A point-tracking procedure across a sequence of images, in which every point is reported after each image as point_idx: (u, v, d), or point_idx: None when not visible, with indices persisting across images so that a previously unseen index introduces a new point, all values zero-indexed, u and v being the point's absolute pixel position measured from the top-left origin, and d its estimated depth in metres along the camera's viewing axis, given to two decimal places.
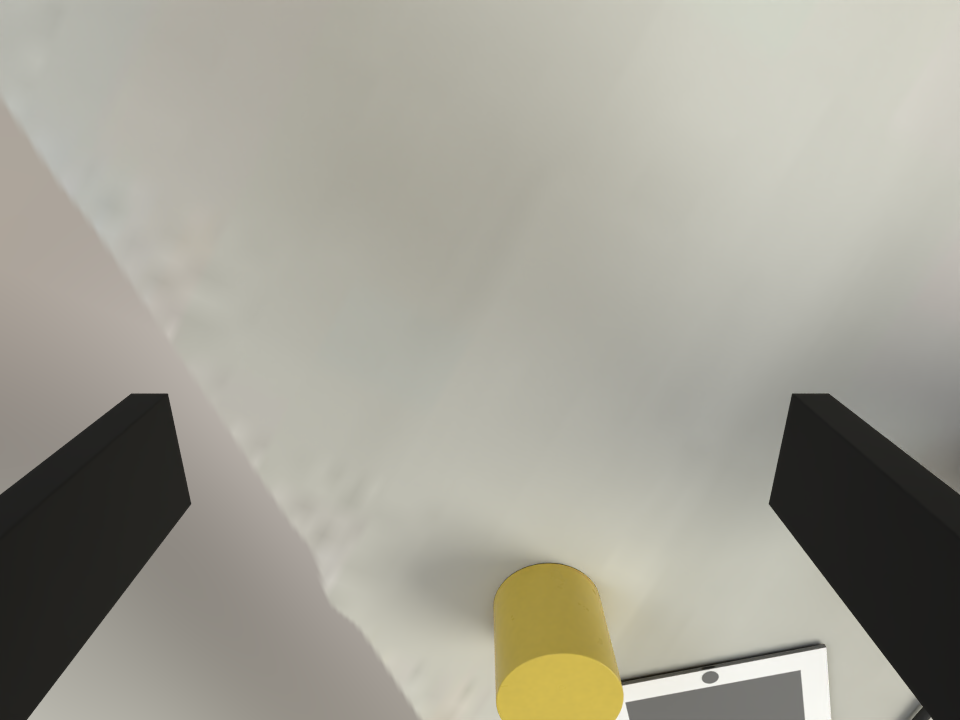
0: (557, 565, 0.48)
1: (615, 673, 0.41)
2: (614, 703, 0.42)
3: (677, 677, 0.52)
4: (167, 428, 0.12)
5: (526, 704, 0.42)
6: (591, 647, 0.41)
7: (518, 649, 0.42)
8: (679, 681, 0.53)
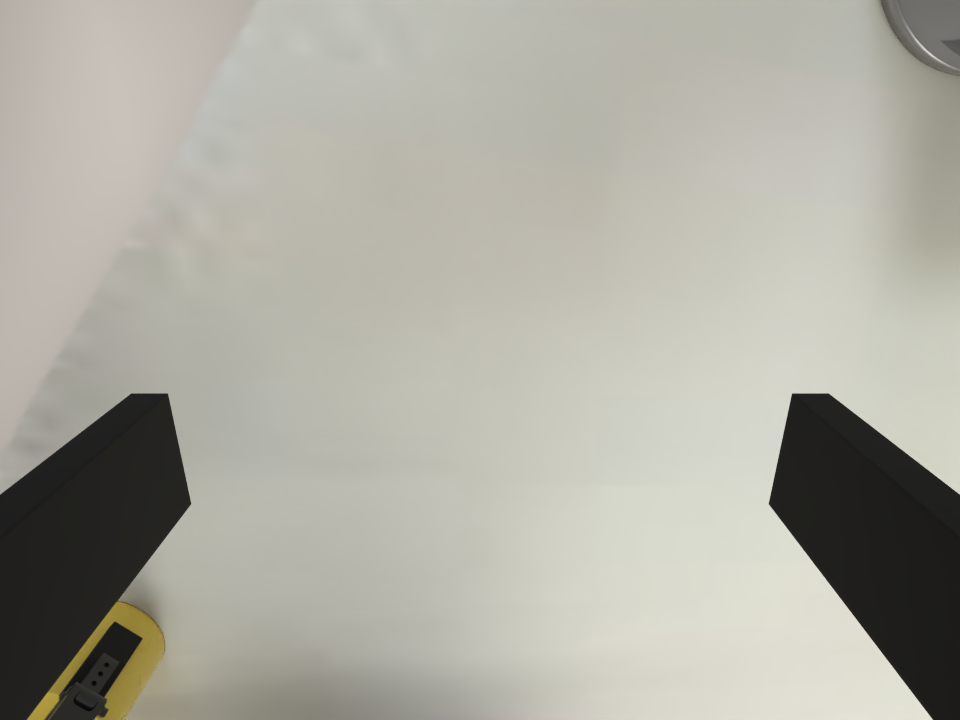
0: (156, 628, 0.53)
1: None
2: None
3: None
4: (167, 429, 0.12)
5: None
6: None
7: (66, 677, 0.45)
8: None
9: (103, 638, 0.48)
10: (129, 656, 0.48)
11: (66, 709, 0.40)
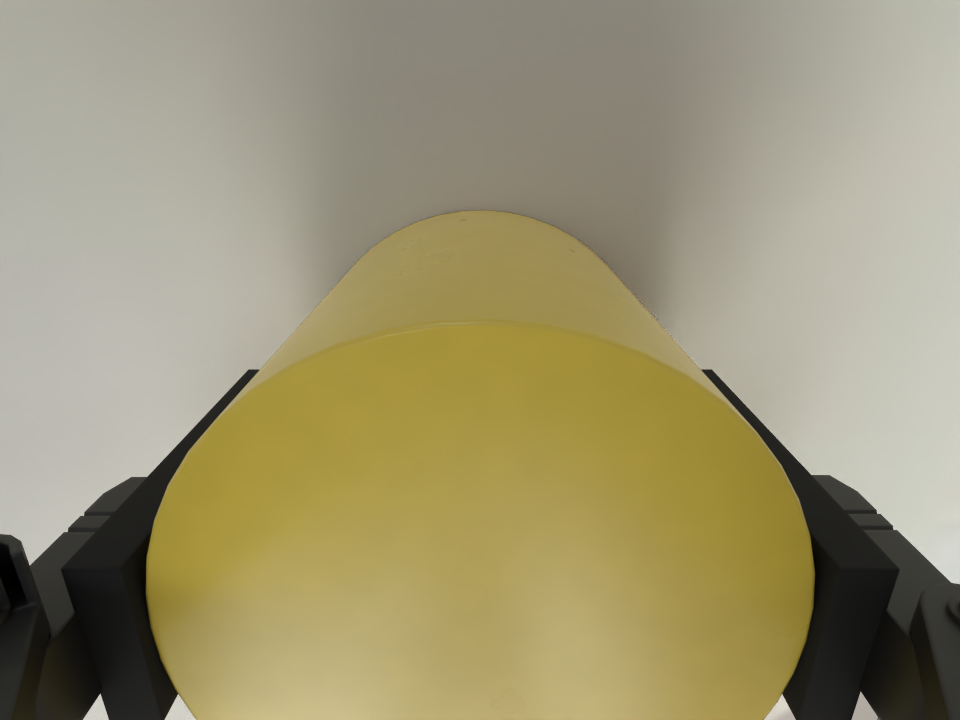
0: None
1: None
2: (225, 699, 0.09)
3: None
4: None
5: (642, 571, 0.08)
6: None
7: None
8: None
9: None
10: None
11: None
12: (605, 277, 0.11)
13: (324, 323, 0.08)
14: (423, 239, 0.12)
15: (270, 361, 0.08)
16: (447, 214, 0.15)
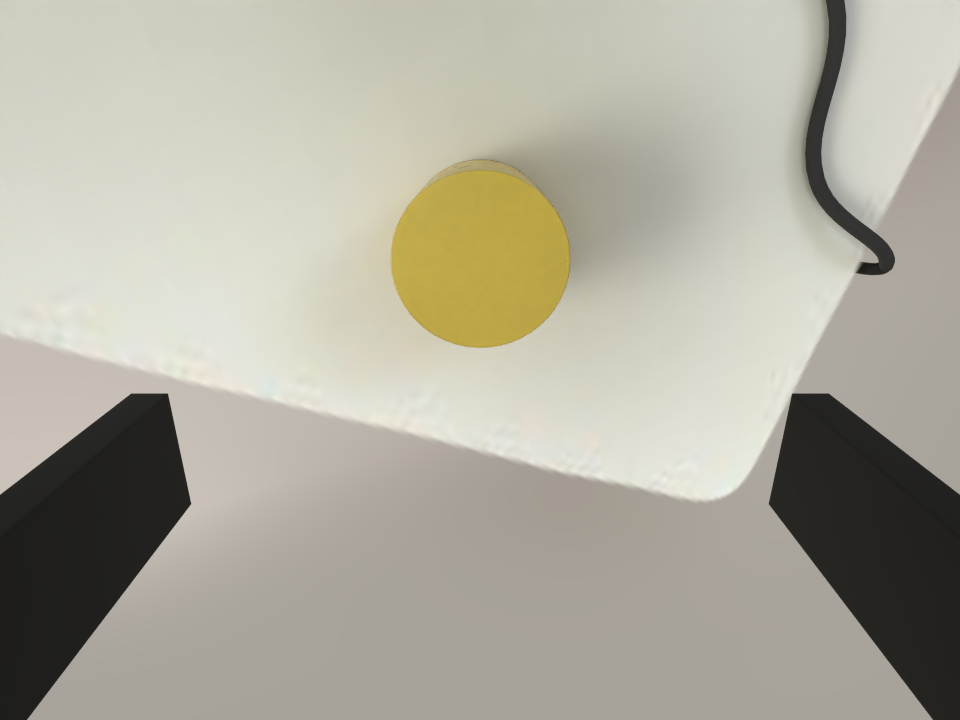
0: None
1: (431, 331, 0.31)
2: (408, 287, 0.30)
3: None
4: (167, 429, 0.12)
5: (522, 242, 0.29)
6: None
7: None
8: None
9: None
10: None
11: None
12: (522, 176, 0.33)
13: (438, 178, 0.30)
14: (460, 165, 0.33)
15: None
16: (467, 161, 0.36)
